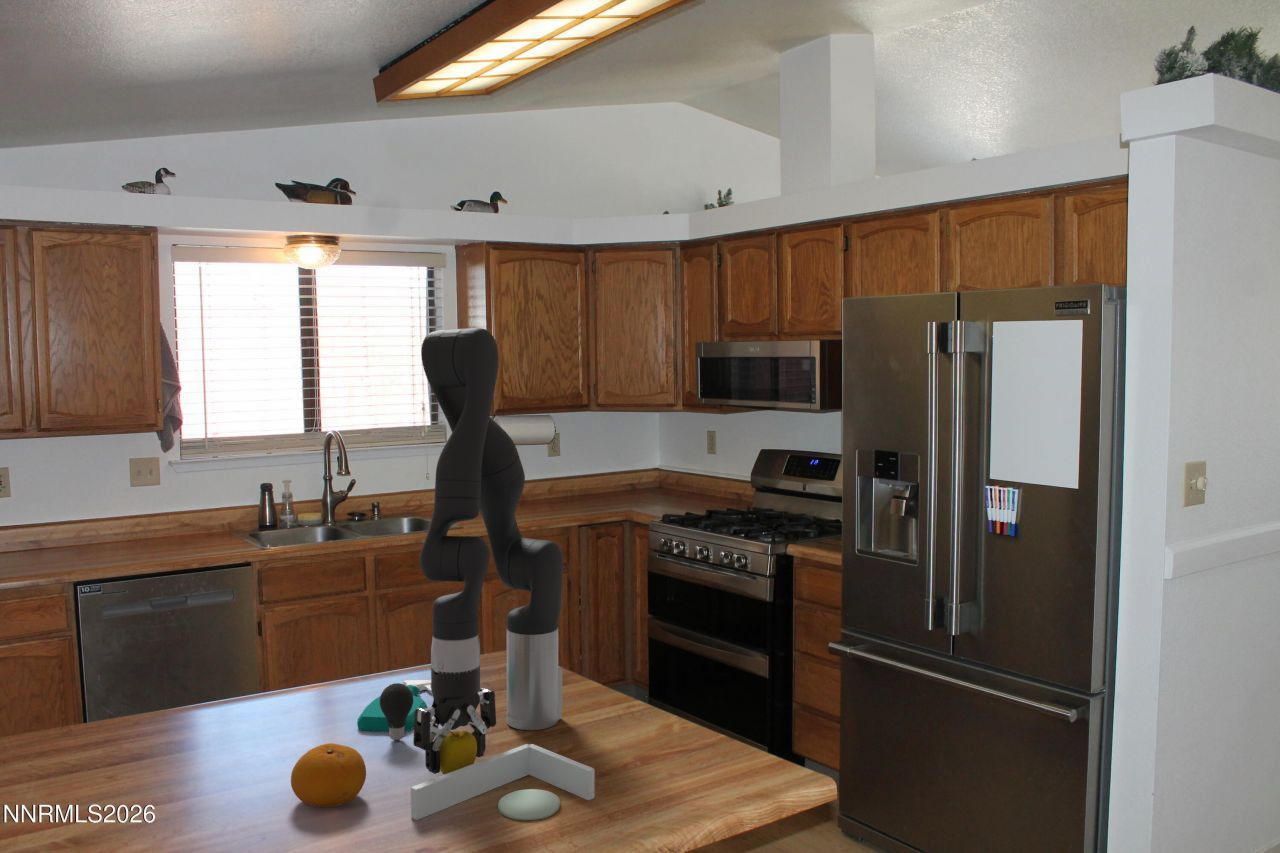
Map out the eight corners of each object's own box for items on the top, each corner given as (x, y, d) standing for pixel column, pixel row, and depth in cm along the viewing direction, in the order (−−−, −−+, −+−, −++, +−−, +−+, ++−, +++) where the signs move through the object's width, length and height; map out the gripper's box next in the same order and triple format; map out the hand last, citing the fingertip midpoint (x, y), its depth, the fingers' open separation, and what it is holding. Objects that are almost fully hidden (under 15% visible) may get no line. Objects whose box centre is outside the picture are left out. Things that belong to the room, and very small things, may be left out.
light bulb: (405, 748, 171) (404, 690, 170) (374, 745, 172) (373, 688, 171) (419, 736, 177) (418, 679, 176) (388, 733, 178) (388, 677, 177)
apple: (427, 781, 158) (427, 731, 158) (450, 766, 164) (449, 717, 164) (463, 788, 156) (462, 737, 155) (484, 772, 162) (484, 723, 161)
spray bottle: (351, 733, 179) (394, 688, 203) (413, 735, 178) (448, 690, 202) (351, 717, 179) (394, 674, 203) (412, 719, 178) (448, 675, 202)
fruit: (326, 823, 144) (325, 768, 144) (277, 805, 150) (276, 752, 149) (381, 796, 153) (380, 744, 153) (333, 780, 159) (332, 730, 158)
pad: (531, 787, 157) (531, 783, 156) (572, 805, 151) (572, 801, 150) (485, 806, 150) (485, 802, 150) (526, 826, 144) (526, 822, 144)
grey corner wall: (529, 770, 163) (529, 742, 163) (594, 797, 153) (594, 768, 153) (411, 817, 146) (410, 787, 146) (475, 852, 137) (475, 819, 136)
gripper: (476, 648, 166) (476, 744, 168) (403, 667, 156) (403, 770, 157) (506, 657, 161) (506, 757, 163) (432, 679, 151) (433, 785, 152)
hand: (456, 763), depth 160 cm, fingers open, 8 cm apart
